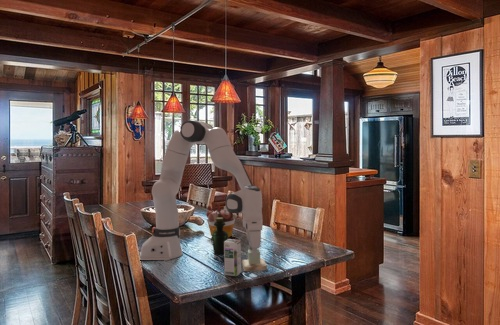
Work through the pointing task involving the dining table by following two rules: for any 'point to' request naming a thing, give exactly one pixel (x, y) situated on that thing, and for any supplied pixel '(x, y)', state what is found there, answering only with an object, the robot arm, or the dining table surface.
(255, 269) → the maple board
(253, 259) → the sage cube
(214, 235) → the potion bottle
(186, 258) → the dining table surface
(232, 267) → the syrup box
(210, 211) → the bucket of meat
